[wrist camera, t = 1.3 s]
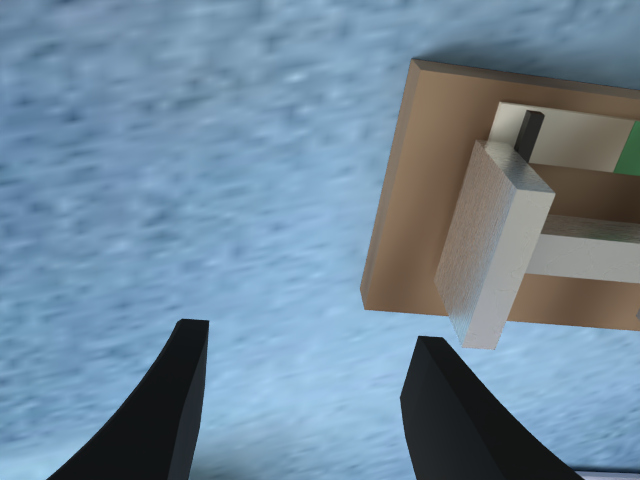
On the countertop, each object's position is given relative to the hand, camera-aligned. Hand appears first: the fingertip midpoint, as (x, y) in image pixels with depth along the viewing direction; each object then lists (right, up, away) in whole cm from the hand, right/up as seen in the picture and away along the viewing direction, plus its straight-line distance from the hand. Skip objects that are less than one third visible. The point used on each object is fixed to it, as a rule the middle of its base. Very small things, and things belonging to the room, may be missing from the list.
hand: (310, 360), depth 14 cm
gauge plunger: (+10, +4, +8) cm, 14 cm away
